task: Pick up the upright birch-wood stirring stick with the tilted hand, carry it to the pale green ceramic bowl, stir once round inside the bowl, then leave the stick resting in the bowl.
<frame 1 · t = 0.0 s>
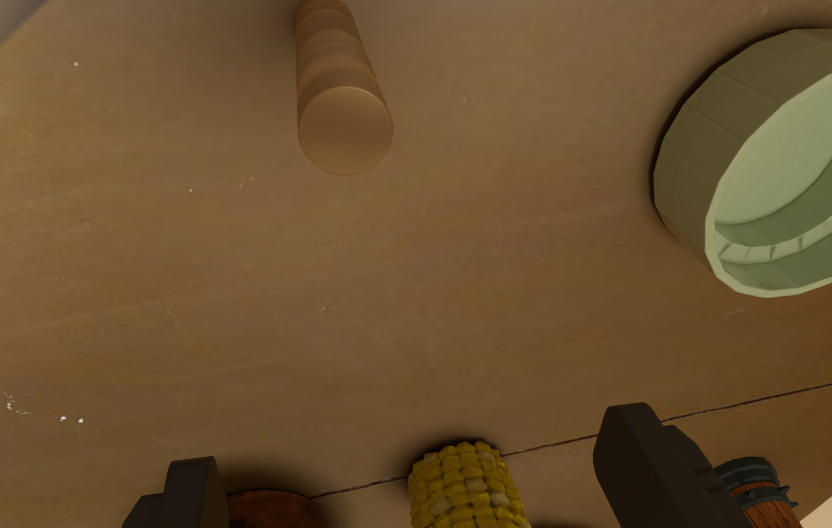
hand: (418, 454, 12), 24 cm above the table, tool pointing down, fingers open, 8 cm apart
case: (257, 525, 53), on the table
stick: (325, 27, 30), on the table
bowl: (758, 146, 38), on the table
mug: (736, 485, 64), on the table
food: (452, 464, 53), on the table
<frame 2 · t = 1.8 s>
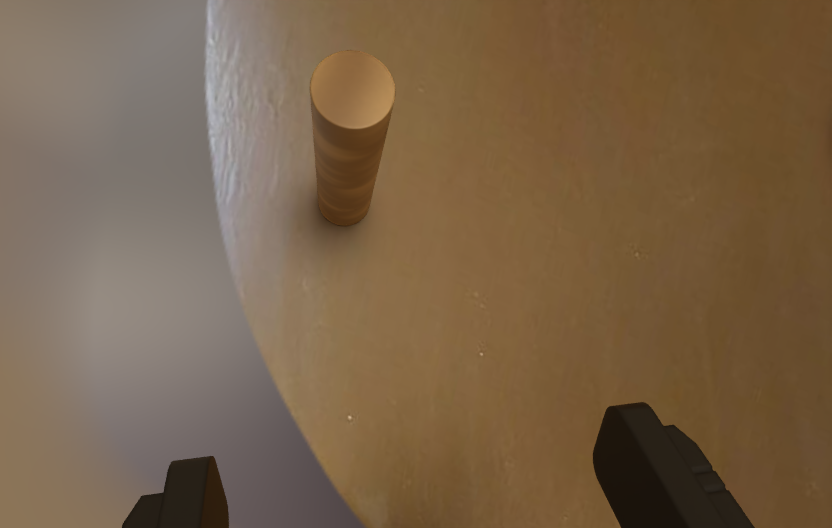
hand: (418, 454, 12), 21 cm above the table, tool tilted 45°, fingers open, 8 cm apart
stick: (344, 201, 34), on the table
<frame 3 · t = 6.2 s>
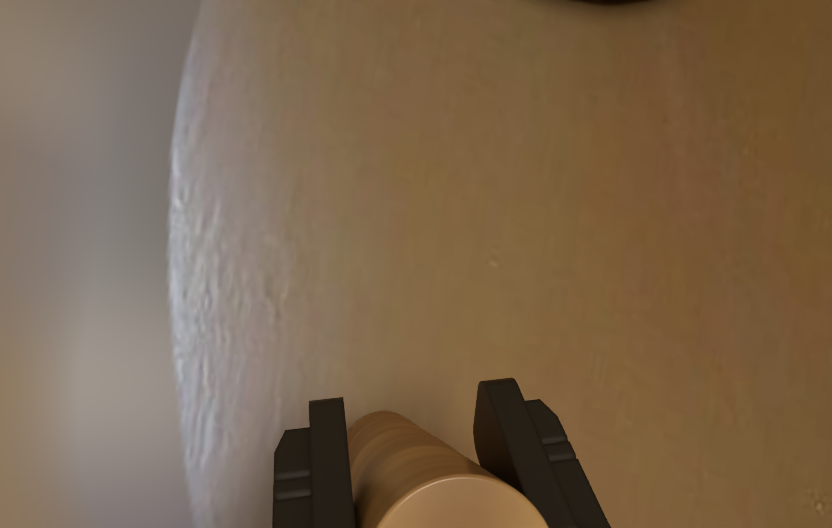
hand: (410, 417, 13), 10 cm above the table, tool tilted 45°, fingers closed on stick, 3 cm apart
stick: (382, 451, 22), on the table, touching gripper
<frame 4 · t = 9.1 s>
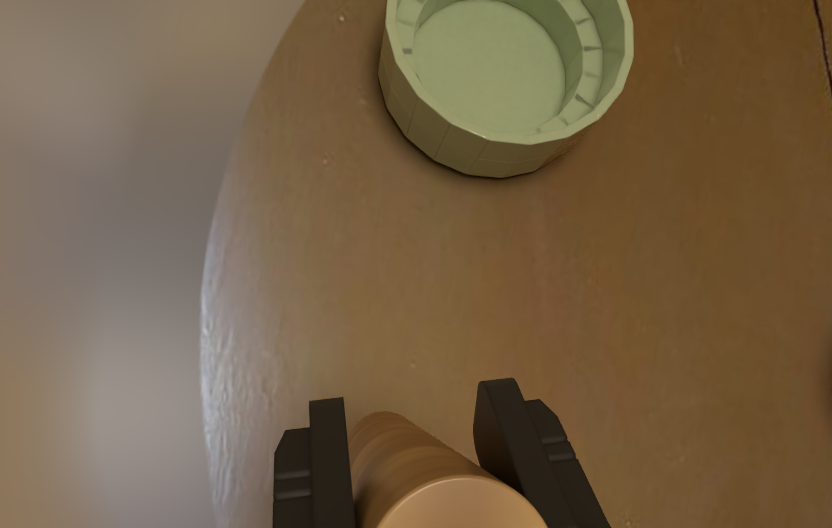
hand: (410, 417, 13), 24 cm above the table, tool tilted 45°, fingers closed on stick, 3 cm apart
stick: (382, 451, 22), point 14 cm above the table, touching gripper
bowl: (485, 76, 41), on the table
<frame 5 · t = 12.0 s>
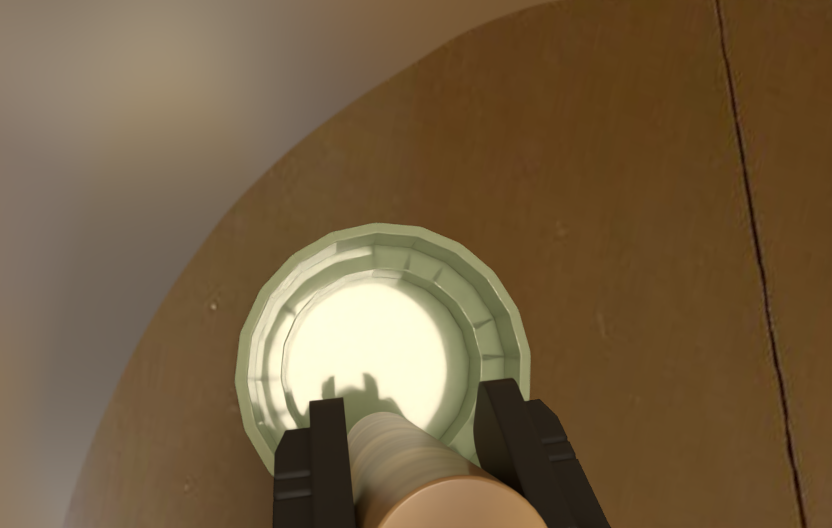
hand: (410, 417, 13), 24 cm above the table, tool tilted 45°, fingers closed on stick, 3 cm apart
stick: (383, 452, 22), point 14 cm above the table, touching gripper
bowl: (378, 367, 36), on the table
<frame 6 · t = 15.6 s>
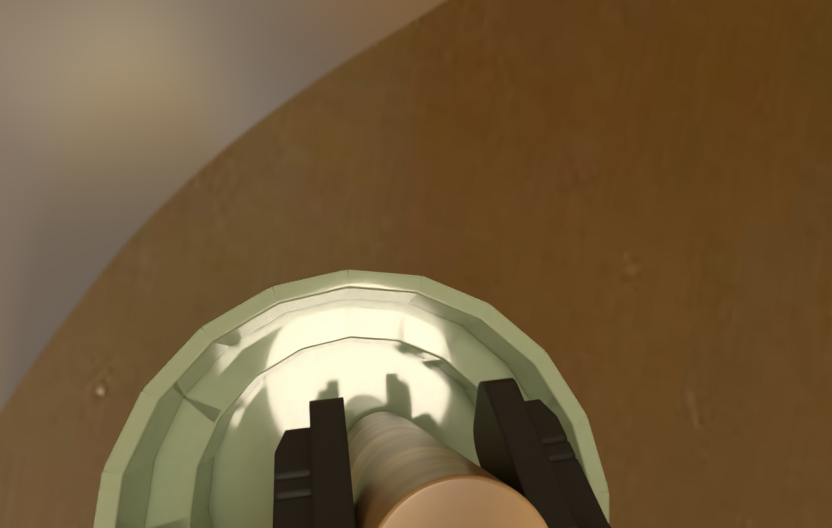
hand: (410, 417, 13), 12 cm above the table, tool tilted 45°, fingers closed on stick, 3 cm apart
stick: (383, 452, 22), point 2 cm above the table, touching gripper
bowl: (357, 483, 23), on the table
when the fingers open (11 cm above the table, at t = 18.3 s): stick stays where it is, resting on bowl.
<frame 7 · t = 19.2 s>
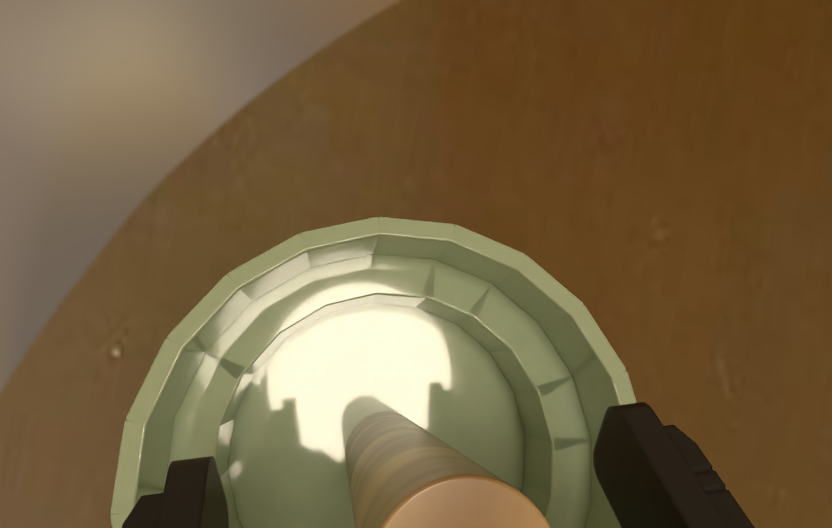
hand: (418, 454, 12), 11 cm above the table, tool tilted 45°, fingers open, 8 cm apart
stick: (384, 451, 22), point 1 cm above the table, touching bowl
bowl: (381, 449, 23), on the table
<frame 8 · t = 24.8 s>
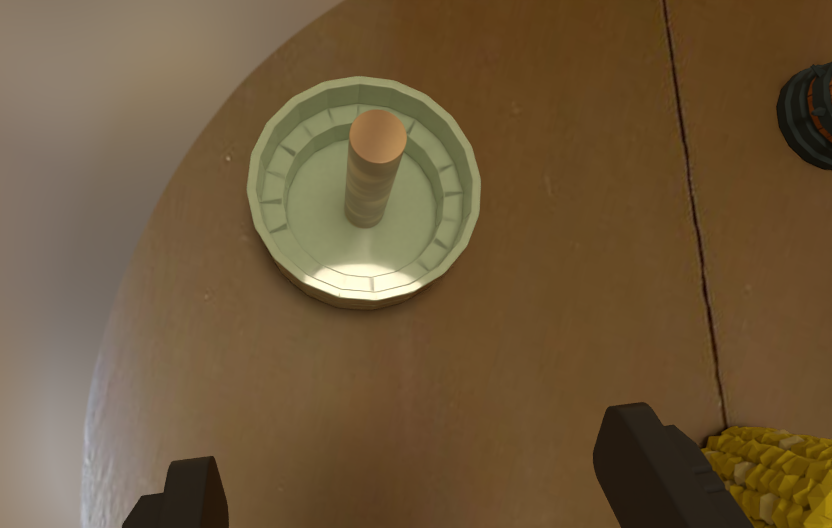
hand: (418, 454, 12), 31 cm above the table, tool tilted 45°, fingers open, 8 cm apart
stick: (364, 209, 44), point 1 cm above the table, touching bowl
bowl: (362, 211, 44), on the table
mug: (829, 108, 52), on the table
food: (731, 488, 45), on the table
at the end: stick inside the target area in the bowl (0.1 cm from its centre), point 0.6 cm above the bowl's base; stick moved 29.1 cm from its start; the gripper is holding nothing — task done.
